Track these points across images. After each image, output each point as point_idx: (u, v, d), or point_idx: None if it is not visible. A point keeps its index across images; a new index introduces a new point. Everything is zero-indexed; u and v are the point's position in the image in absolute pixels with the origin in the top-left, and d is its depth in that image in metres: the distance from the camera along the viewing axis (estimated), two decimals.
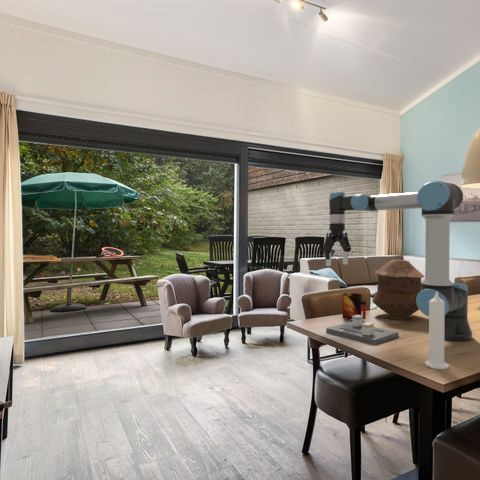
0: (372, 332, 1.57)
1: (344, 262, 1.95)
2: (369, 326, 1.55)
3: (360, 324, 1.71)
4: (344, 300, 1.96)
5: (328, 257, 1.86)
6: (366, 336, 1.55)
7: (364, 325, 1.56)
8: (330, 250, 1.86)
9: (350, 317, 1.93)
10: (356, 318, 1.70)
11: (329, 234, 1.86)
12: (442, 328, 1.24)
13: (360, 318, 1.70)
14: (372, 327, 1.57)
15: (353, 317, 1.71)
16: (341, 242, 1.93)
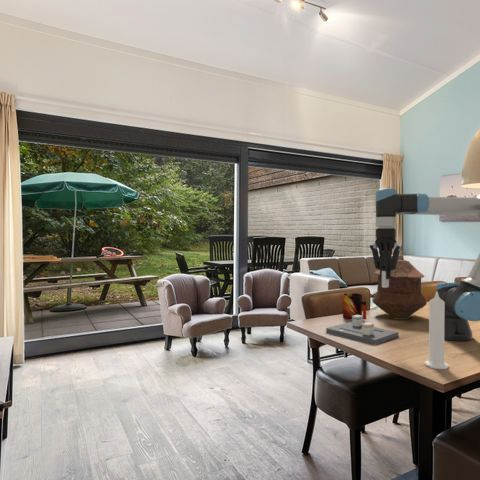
0: (372, 332, 1.57)
1: None
2: (369, 326, 1.55)
3: (360, 324, 1.71)
4: (344, 300, 1.95)
5: (381, 276, 1.51)
6: (366, 336, 1.55)
7: (364, 325, 1.56)
8: (381, 266, 1.51)
9: (350, 317, 1.93)
10: (356, 318, 1.70)
11: None
12: (442, 328, 1.24)
13: (360, 318, 1.70)
14: (372, 327, 1.57)
15: (353, 317, 1.71)
16: None
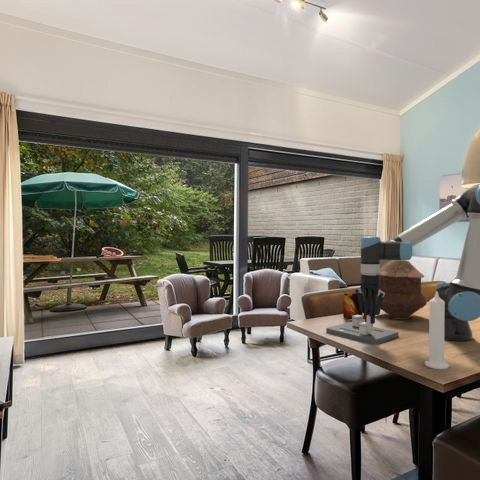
0: None
1: None
2: (366, 325, 1.56)
3: None
4: (345, 300, 1.95)
5: (366, 320, 1.57)
6: (366, 336, 1.55)
7: (361, 324, 1.57)
8: (366, 311, 1.56)
9: (351, 317, 1.93)
10: (356, 318, 1.70)
11: None
12: (442, 328, 1.24)
13: (360, 318, 1.70)
14: None
15: (353, 317, 1.71)
16: None
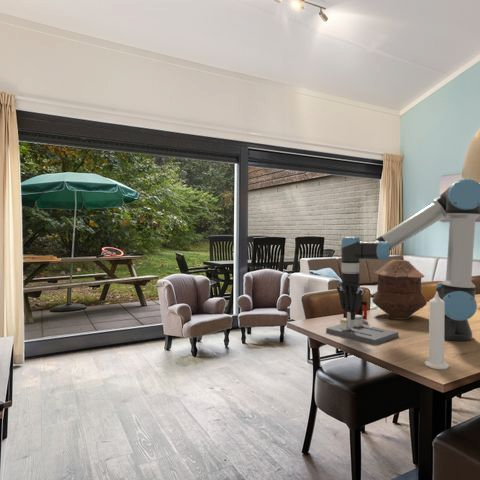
0: None
1: None
2: None
3: (360, 324, 1.71)
4: None
5: (346, 316, 1.65)
6: (366, 336, 1.55)
7: (342, 320, 1.65)
8: (346, 308, 1.64)
9: None
10: (356, 318, 1.70)
11: None
12: (442, 328, 1.24)
13: (360, 318, 1.70)
14: None
15: None
16: None
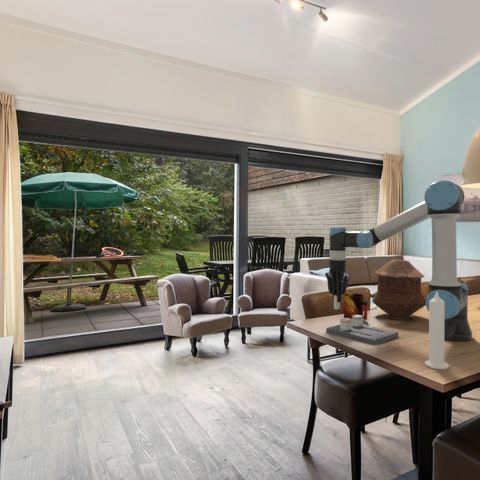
0: (350, 327, 1.65)
1: None
2: (347, 321, 1.64)
3: (360, 324, 1.71)
4: (345, 300, 1.95)
5: (333, 299, 1.81)
6: (366, 336, 1.55)
7: (342, 320, 1.65)
8: (333, 291, 1.80)
9: (351, 317, 1.92)
10: (356, 318, 1.70)
11: None
12: (442, 328, 1.24)
13: (360, 318, 1.70)
14: (350, 322, 1.65)
15: (353, 317, 1.71)
16: None
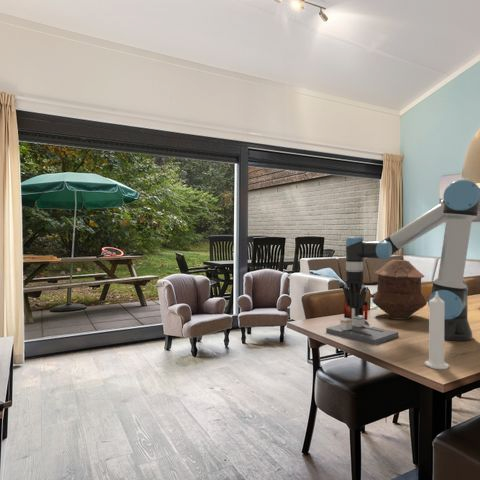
0: (350, 327, 1.65)
1: None
2: (347, 321, 1.64)
3: (361, 324, 1.70)
4: None
5: (351, 312, 1.73)
6: (366, 336, 1.55)
7: (342, 320, 1.65)
8: (351, 304, 1.73)
9: None
10: (357, 318, 1.69)
11: None
12: (442, 328, 1.24)
13: (361, 318, 1.70)
14: (350, 322, 1.65)
15: (354, 317, 1.70)
16: None
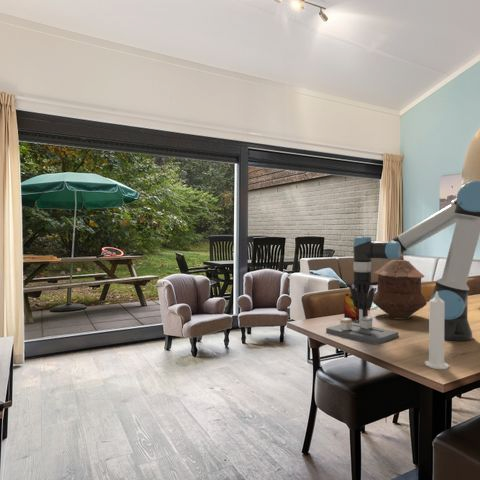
0: (350, 327, 1.65)
1: None
2: (347, 321, 1.64)
3: (369, 326, 1.67)
4: (346, 300, 1.95)
5: (358, 313, 1.70)
6: (366, 336, 1.55)
7: (342, 320, 1.65)
8: (358, 305, 1.70)
9: (352, 317, 1.92)
10: (365, 320, 1.66)
11: None
12: (442, 328, 1.24)
13: (369, 320, 1.67)
14: (350, 322, 1.65)
15: (362, 319, 1.67)
16: None
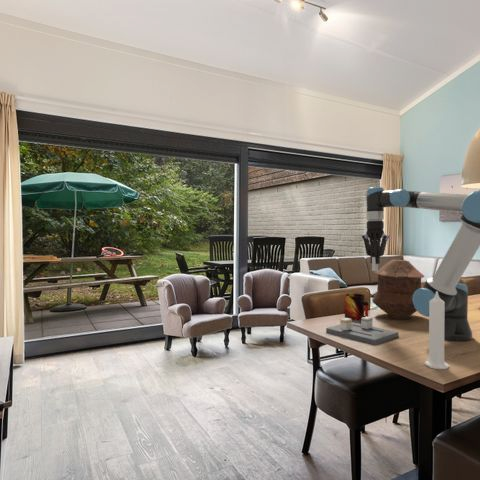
0: (350, 327, 1.65)
1: None
2: (347, 321, 1.64)
3: (369, 326, 1.67)
4: (346, 300, 1.94)
5: (371, 261, 1.79)
6: (366, 336, 1.55)
7: (342, 320, 1.65)
8: (371, 253, 1.78)
9: (352, 318, 1.92)
10: (365, 320, 1.66)
11: None
12: (442, 328, 1.24)
13: (369, 320, 1.67)
14: (350, 322, 1.65)
15: (362, 319, 1.67)
16: None
